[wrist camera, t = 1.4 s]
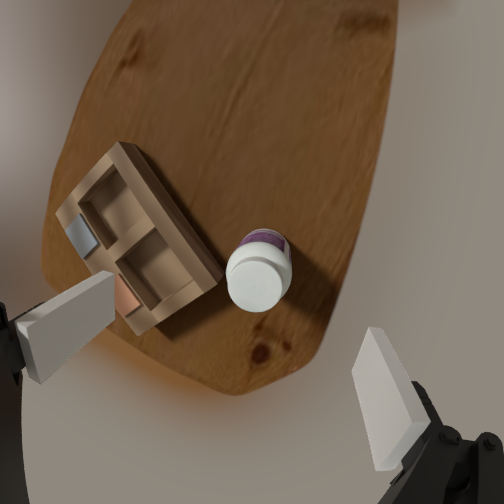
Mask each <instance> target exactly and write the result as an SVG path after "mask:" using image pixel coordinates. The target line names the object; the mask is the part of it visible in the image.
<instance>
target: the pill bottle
mask: <svg viewBox="0 0 504 504" xmlns="http://www.w3.org/2000/svg"><path fill="white" fill-rule="evenodd" d="M226 278H227V282H228V292H229V294H230V297H231V299H232V300H233V301H234V303H235V304H236V305H237V306H239V307H240V308H242V309H244V310H246V311H250V312H263V311H266V310H268V309H270V308H272V307H273V306H274V305H275V304H276V303H277V302H278V301H279V299H280V298H281V297H282V296H283V295H284V294H285V293H286V292H287V290H288V288H289V286H290V283H291V278H292V263H291V252H290V247H289V244H288V243H287V241H286V239H285V238H284V237H283V236H282V235H281V234H279V233H278V232H276V231H274V230H270V229H258V230H255V231H253V232H251V233H249V234H248V235H247V236H246V237H245V238H244V239H243V240H242V241H241V243H240V244H239V246H238V247H237V248H236V250H235V251H234V253H233V254H232V255H231V257H230V259H229V261H228V264H227V269H226Z"/></svg>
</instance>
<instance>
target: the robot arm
mask: <svg viewBox="0 0 504 504" xmlns="http://www.w3.org/2000/svg"><path fill="white" fill-rule="evenodd" d="M114 320H115V298H114V273H111V272H107V271H104V270H103V271H101V272H99V273H97V274H95V275H93V276H92V277H90V278H88V279H86V280H84V281H82V282H81V283H79V284H77V285H75V286H73V287H72V288H70V289H68V290H66V291H64V292H63V293H61V294H59V295H58V296H56V297H54V298H52V299H51V300H49V301H46V302H42V303H40V304H38V305H36V306H34V307H33V308H31V309H29V310H28V311H27V312H24V313H22V314H21V315H19V316H17V317H16V318H14V319H12V320H11V321H9V322H8V318H7V313H6V309H5V305H4V304H3V303H2V302H0V504H30V503H29V498H28V493H27V486H26V480H25V472H24V462H23V450H22V428H21V403H22V380H23V375H22V371H21V370H22V369H23V368H24V367H25V366H26V368H27V372H28V374H29V377H30V378H31V379H33V380H35V381H36V382H38V383H39V384H42V383H43V382H44V381H45V380H47V379H48V378H49V377H50V376H51V375H52V374H53V373H54V372H55V371H57V370H58V369H59V368H60V367H61V366H62V365H63V364H64V363H65V362H67V361H68V360H69V359H70V358H71V357H72V356H73V355H74V354H76V353H77V352H78V351H79V350H80V349H81V348H82V347H83V346H85V345H86V344H87V343H88V342H89V341H90V340H91V339H93V338H94V337H95V336H96V335H97V334H98V333H100V332H101V331H102V330H103V329H104V328H105V327H107V326H108V325H109V324H110V323H111V322H112V321H114ZM351 372H352V376H353V380H354V383H355V387H356V391H357V394H358V398H359V402H360V406H361V410H362V414H363V418H364V422H365V426H366V430H367V434H368V439H369V443H370V447H371V452H372V456H373V461H374V466H375V470H376V471H388V470H394V469H395V468H396V466H397V465H398V464H399V463H400V461H401V462H402V465H403V469H402V471H401V472H400V473H399V474H398V475H397V476H396V477H395V478H394V479H393V480H392V482H391V483H390V484H391V486H390V487H389V489H388V490H387V492H386V493H385V494H384V496H383V497H382V499H381V500H380V501H379V503H378V504H504V452H503V445H502V442H501V440H500V439H499V438H498V436H496V435H495V434H493V433H490V432H484V433H481V434H480V436H479V437H478V438H477V439H476V441H469V440H463V439H462V438H461V435H460V434H459V432H458V431H457V430H455V429H454V428H452V427H449V426H447V425H446V426H445V425H443V423H442V421H441V419H440V418H439V416H438V414H437V412H436V410H435V408H434V406H433V405H432V402H431V400H430V398H428V395H427V393H426V391H425V389H424V388H423V387H422V386H421V385H420V384H419V383H418V382H417V381H410V379H409V377H408V375H407V373H406V371H405V369H404V367H403V365H402V364H401V362H400V360H399V358H398V356H397V355H396V353H395V351H394V349H393V347H392V345H391V343H390V342H389V340H388V338H387V336H386V335H385V333H384V331H383V329H380V328H373V327H368V330H367V333H366V335H365V339H364V341H363V343H362V346H361V349H360V351H359V354H358V356H357V359H356V361H355V364H354V366H353V369H352V371H351Z"/></svg>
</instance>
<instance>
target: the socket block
mask: <svg viewBox="0 0 504 504" xmlns="http://www.w3.org/2000/svg"><path fill="white" fill-rule="evenodd" d="M55 214H56V216H57V217H58V219H59V221H60V223H61V225H62V226H63V228H64V230H65V232H66V234H67V236H68V237H69V239H70V241H71V242H72V244H73V246H74V247H75V249H76V251H77V252H78V254H79V255H80V257H81V259H83V261H84V263H85V264H86V266H87V267H88V269H89V270H90V272H91V273H92V275H95V274H97V273H99V272H101V271H103V270H104V271H107V272H111V273H114V298H115V308H116V309H117V311H118V312H119V313H120V315H121V316H122V317H123V318H124V319H125V321H126V322H127V323H128V325H129V326H130V327H131V328H132V330H133V331H134V332H135V333H136V335H137V336H139V335H141V334H142V333H144V332H145V331H147V330H149V329H150V328H152V327H153V326H155V325H156V324H158V323H159V322H161V321H162V320H164V319H165V318H167V317H168V316H170V315H172V314H173V313H175V312H176V311H178V310H179V309H181V308H182V307H184V306H185V305H187V304H188V303H190V302H191V301H193V300H194V299H196V298H197V297H199V296H200V295H202V294H204V293H205V292H207V291H208V290H210V289H211V288H213V287H214V286H216V285H217V284H218V283H219V282H220V280H221V279H222V277H223V276H224V274H225V272H224V270H223V269H222V268H221V266H220V265H219V264H218V262H217V261H216V260H215V258H214V257H213V256H212V254H211V253H210V251H209V250H208V249H207V247H206V246H205V245H204V243H203V242H202V240H201V239H200V238H199V236H198V235H197V233H196V232H195V231H194V229H193V228H192V227H191V225H190V224H189V222H188V221H187V220H186V218H185V217H184V215H183V214H182V212H181V211H180V210H179V208H178V207H177V205H176V204H175V203H174V201H173V200H172V198H171V197H170V195H169V194H168V193H167V191H166V190H165V188H164V187H163V185H162V184H161V182H160V181H159V180H158V178H157V177H156V175H155V174H154V172H153V171H152V169H151V168H150V166H149V165H148V163H147V162H146V161H145V159H144V158H143V156H142V155H141V153H140V152H139V150H138V149H137V147H136V146H135V144H131V143H126V142H120V141H118V142H117V143H116V144H115V145H114V146H113V147H112V148H111V149H110V150H109V151H108V152H107V153H106V154H105V155H104V156H103V157H102V158H101V159H100V160H99V161H98V162H97V164H96V165H95V166H94V167H93V168H92V169H91V170H90V171H89V172H88V174H87V175H86V176H85V177H84V178H83V179H82V181H81V182H80V183H79V184H78V185H77V186H76V188H75V189H74V190H73V191H72V193H71V194H70V195H69V196H68V197H67V199H66V200H65V201H64V203H63V204H62V205H61V206H60V208H59V209H58V210H57V212H56V213H55Z"/></svg>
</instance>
